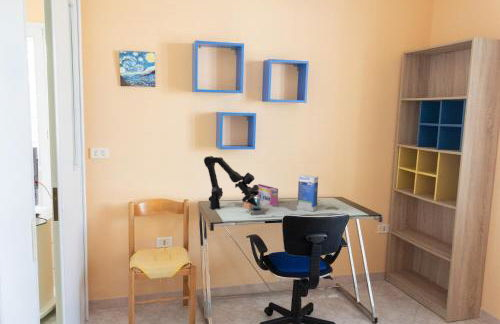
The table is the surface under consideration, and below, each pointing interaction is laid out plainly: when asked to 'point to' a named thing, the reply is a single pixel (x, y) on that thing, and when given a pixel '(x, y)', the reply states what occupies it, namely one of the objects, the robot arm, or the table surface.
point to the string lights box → (307, 192)
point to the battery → (257, 200)
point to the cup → (247, 205)
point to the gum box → (268, 195)
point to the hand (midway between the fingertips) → (258, 205)
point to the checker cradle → (256, 212)
